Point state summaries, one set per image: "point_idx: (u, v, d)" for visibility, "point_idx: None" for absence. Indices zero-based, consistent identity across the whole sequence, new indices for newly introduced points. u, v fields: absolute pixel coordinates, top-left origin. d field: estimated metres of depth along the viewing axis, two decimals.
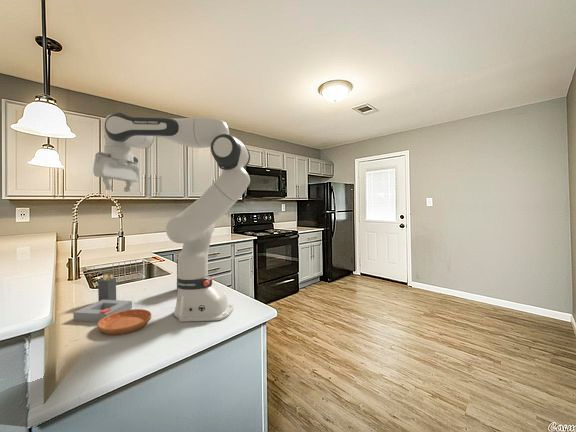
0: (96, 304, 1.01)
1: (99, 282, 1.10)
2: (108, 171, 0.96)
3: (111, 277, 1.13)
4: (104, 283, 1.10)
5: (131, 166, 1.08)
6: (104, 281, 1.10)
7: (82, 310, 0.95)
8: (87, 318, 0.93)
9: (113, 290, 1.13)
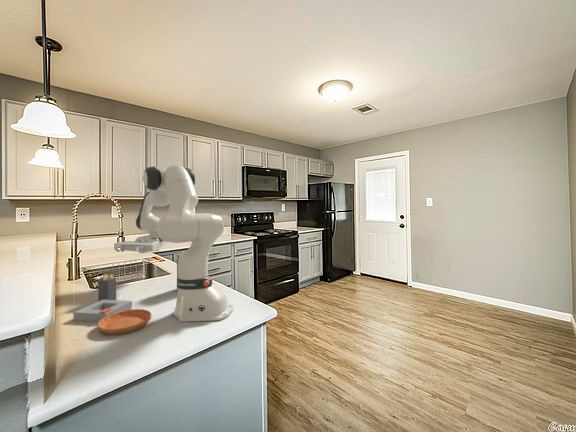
0: (96, 304, 1.01)
1: (99, 282, 1.10)
2: (122, 242, 1.30)
3: (111, 277, 1.13)
4: (104, 283, 1.10)
5: (148, 241, 1.33)
6: (104, 281, 1.10)
7: (82, 310, 0.95)
8: (87, 318, 0.93)
9: (113, 290, 1.13)
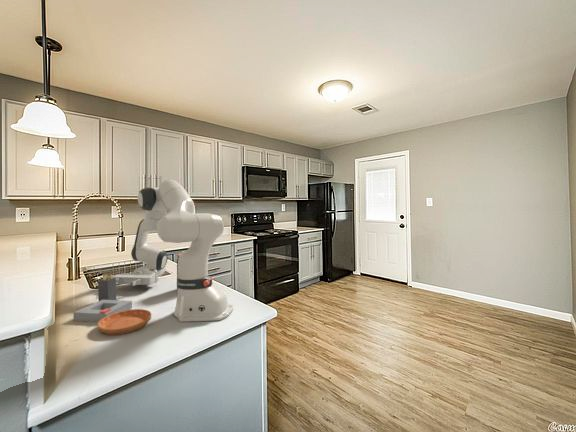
0: (96, 304, 1.01)
1: (99, 282, 1.10)
2: (119, 275, 1.28)
3: (111, 277, 1.13)
4: (104, 283, 1.10)
5: (146, 273, 1.31)
6: (104, 281, 1.10)
7: (82, 310, 0.95)
8: (87, 318, 0.93)
9: (113, 290, 1.13)
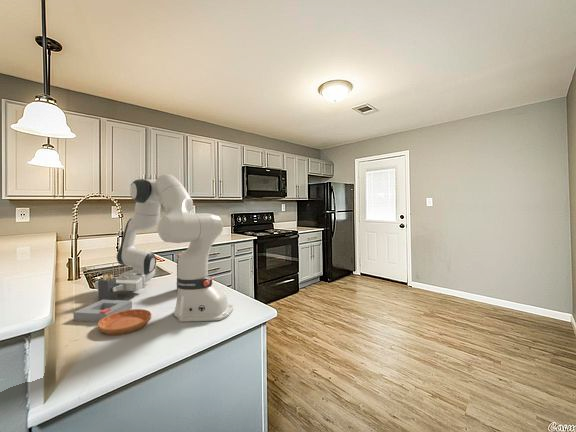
0: (96, 304, 1.01)
1: (99, 282, 1.10)
2: None
3: (111, 277, 1.13)
4: (104, 283, 1.10)
5: (132, 278, 1.21)
6: (104, 281, 1.10)
7: (82, 310, 0.95)
8: (87, 318, 0.93)
9: None
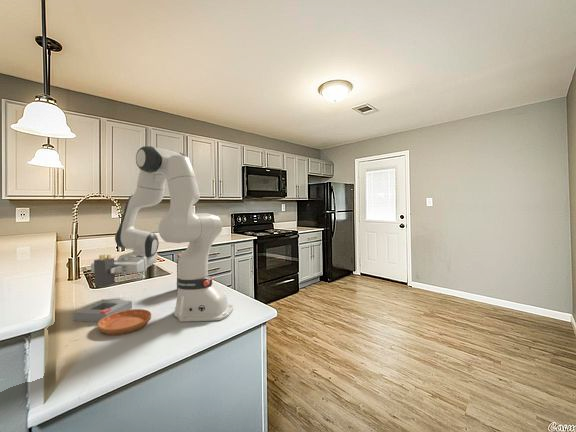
0: (96, 304, 1.01)
1: (95, 262, 0.98)
2: None
3: (109, 257, 1.01)
4: (101, 264, 0.98)
5: (133, 260, 1.09)
6: (101, 261, 0.98)
7: (82, 310, 0.95)
8: (87, 318, 0.93)
9: None
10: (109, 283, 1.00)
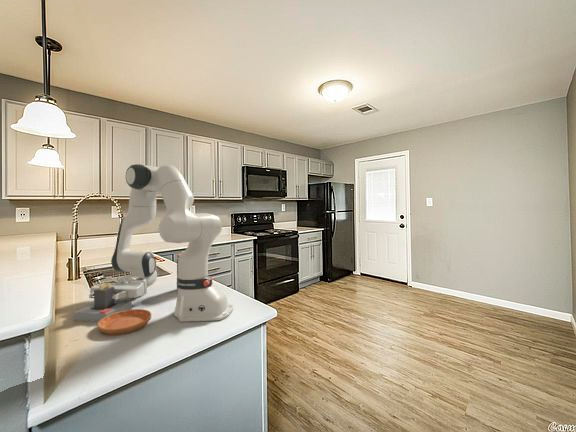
0: None
1: (95, 292, 0.97)
2: None
3: (109, 286, 1.00)
4: (101, 294, 0.97)
5: (133, 283, 1.08)
6: (101, 291, 0.97)
7: (82, 310, 0.95)
8: (87, 318, 0.93)
9: (111, 301, 1.00)
10: None
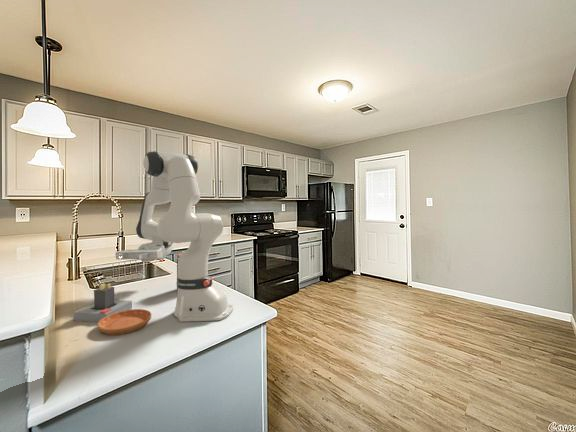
0: None
1: (95, 292, 0.97)
2: (123, 251, 1.19)
3: (109, 286, 1.00)
4: (101, 294, 0.97)
5: (152, 248, 1.21)
6: (101, 291, 0.97)
7: (82, 310, 0.95)
8: (87, 318, 0.93)
9: (111, 301, 1.00)
10: None
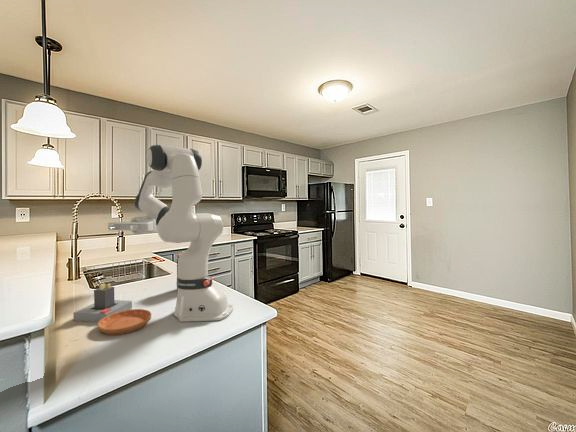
0: None
1: (95, 292, 0.97)
2: (116, 222, 1.23)
3: (109, 286, 1.00)
4: (101, 294, 0.97)
5: (144, 221, 1.26)
6: (101, 291, 0.97)
7: (82, 310, 0.95)
8: (87, 318, 0.93)
9: (111, 301, 1.00)
10: None
